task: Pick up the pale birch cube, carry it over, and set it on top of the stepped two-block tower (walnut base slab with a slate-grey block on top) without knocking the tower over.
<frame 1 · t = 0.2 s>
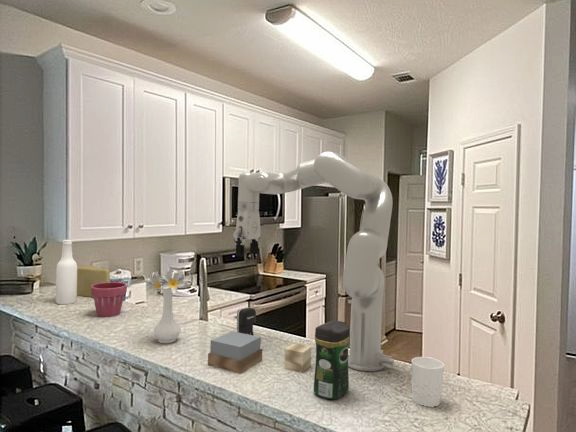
hand: (247, 254, 148), 31 cm above the worktop, tool pointing down, fingers open, 9 cm apart
plant pot: (108, 314, 178), on the worktop
birch cube: (297, 367, 125), on the worktop
alcohol: (66, 303, 195), on the worktop
flower vase: (164, 341, 145), on the worktop
cheese: (95, 297, 209), on the worktop
tower base: (235, 364, 127), on the worktop, touching tower top
coffee jar: (330, 393, 108), on the worktop
battery: (246, 340, 149), on the worktop
white cup: (426, 401, 105), on the worktop
tower top: (235, 351, 127), point 4 cm above the worktop, touching tower base
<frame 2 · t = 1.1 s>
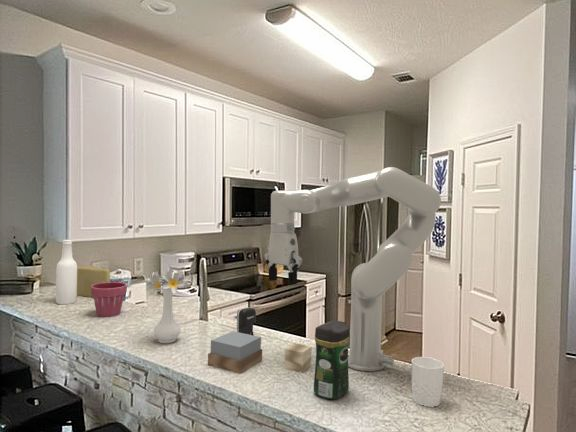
hand: (282, 282, 132), 24 cm above the worktop, tool pointing down, fingers open, 9 cm apart
nothing on the worktop moved.
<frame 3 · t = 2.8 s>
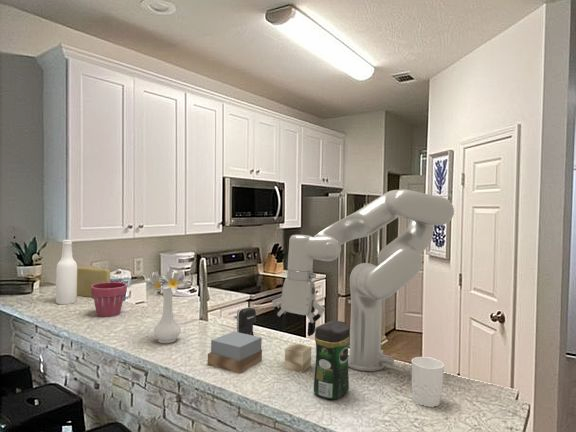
hand: (296, 331, 124), 11 cm above the worktop, tool pointing down, fingers open, 9 cm apart
nothing on the worktop moved.
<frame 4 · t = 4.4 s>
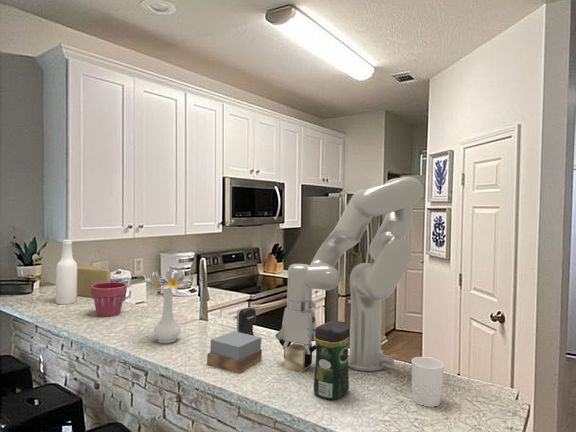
hand: (297, 363, 125), 1 cm above the worktop, tool pointing down, fingers closed on birch cube, 6 cm apart
birch cube: (297, 367, 125), on the worktop, touching gripper
everything else where it was.
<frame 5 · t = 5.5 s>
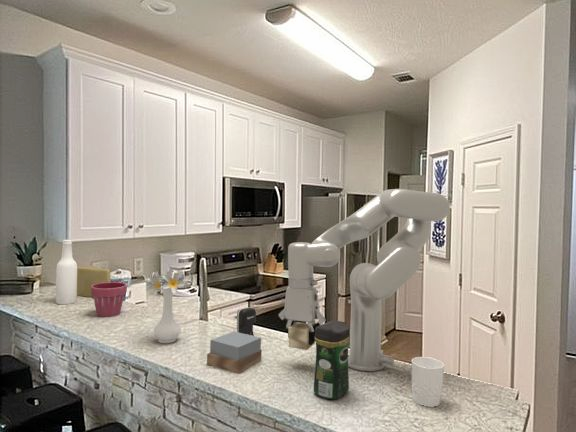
hand: (301, 341, 125), 8 cm above the worktop, tool pointing down, fingers closed on birch cube, 6 cm apart
birch cube: (302, 345, 125), point 7 cm above the worktop, touching gripper
everything else where it was.
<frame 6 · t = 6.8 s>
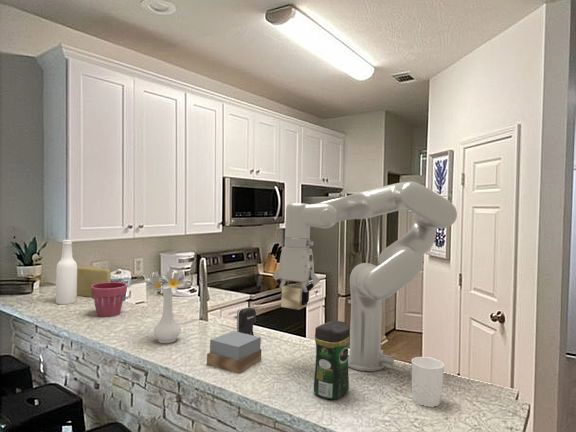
hand: (294, 302, 124), 20 cm above the worktop, tool pointing down, fingers closed on birch cube, 6 cm apart
birch cube: (294, 306, 124), point 19 cm above the worktop, touching gripper
everything else where it was.
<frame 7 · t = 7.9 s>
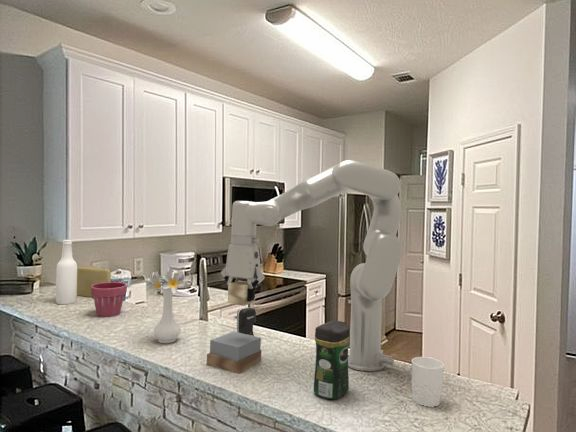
hand: (241, 298, 126), 20 cm above the worktop, tool pointing down, fingers closed on birch cube, 6 cm apart
birch cube: (241, 302, 126), point 19 cm above the worktop, touching gripper
everything else where it was.
when the fingers open (10 cm above the worktop, at t = 12.0 s): birch cube moves 1 cm, point 7 cm above the worktop.
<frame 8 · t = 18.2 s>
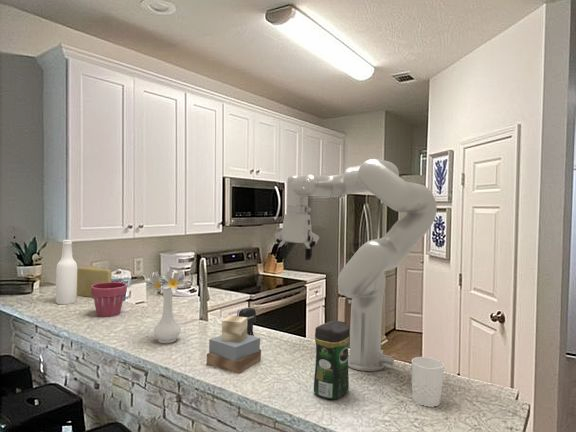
hand: (295, 258, 146), 30 cm above the worktop, tool pointing down, fingers open, 9 cm apart
birch cube: (234, 338, 127), point 7 cm above the worktop
at the end: birch cube 0.4 cm off-centre on the tower top, point 4.0 cm above the tower top's base; tower top 0.1 cm off-centre on the tower base, point 4.0 cm above the tower base's base; birch cube tilted 0° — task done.
